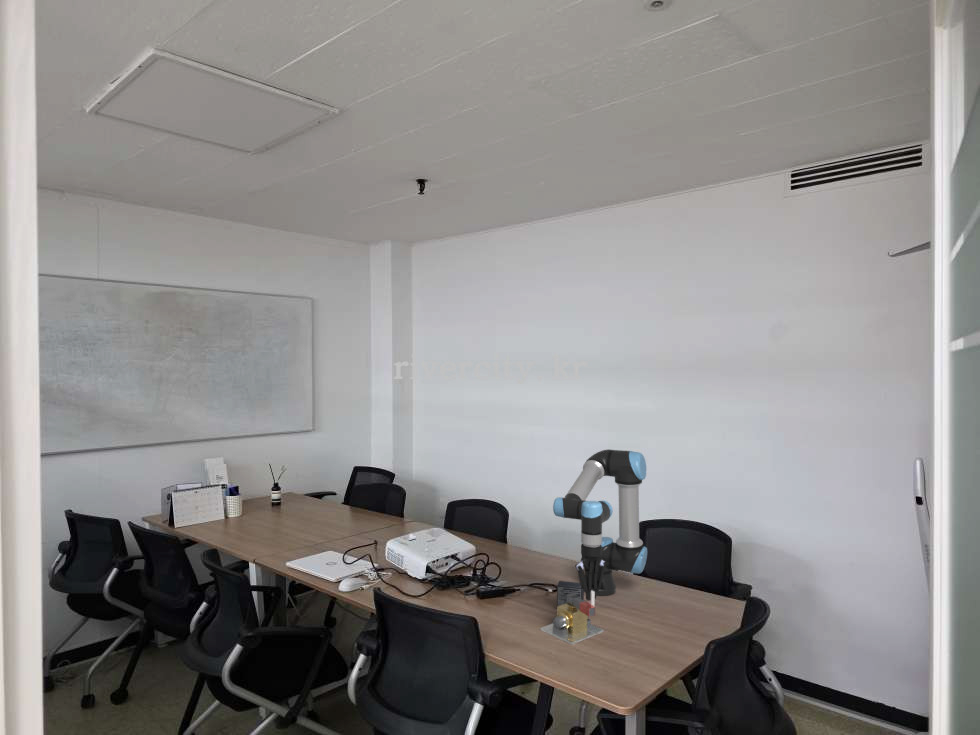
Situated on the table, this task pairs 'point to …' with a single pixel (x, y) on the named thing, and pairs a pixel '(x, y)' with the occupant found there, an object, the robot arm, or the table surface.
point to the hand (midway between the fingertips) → (590, 608)
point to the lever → (580, 605)
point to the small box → (568, 591)
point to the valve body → (571, 625)
